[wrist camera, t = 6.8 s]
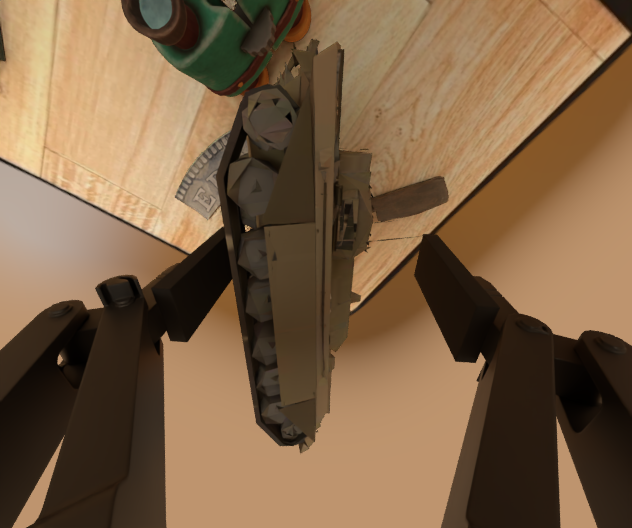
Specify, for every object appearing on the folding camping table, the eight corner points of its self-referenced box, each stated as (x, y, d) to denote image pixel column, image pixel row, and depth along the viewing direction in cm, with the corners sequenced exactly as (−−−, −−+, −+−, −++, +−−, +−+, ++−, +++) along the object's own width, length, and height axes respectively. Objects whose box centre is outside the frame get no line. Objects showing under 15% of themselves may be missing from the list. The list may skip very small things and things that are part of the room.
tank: (214, 63, 13) (394, 74, 15) (260, 381, 22) (365, 359, 25) (173, -53, 5) (550, 4, 7) (268, 503, 15) (419, 454, 17)
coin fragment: (198, 226, 25) (195, 227, 24) (163, 182, 23) (160, 182, 23) (307, 154, 21) (306, 154, 21) (274, 95, 20) (272, 94, 19)
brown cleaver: (317, 241, 25) (316, 243, 24) (307, 216, 24) (307, 218, 23) (448, 204, 22) (449, 205, 22) (444, 173, 21) (446, 174, 21)
